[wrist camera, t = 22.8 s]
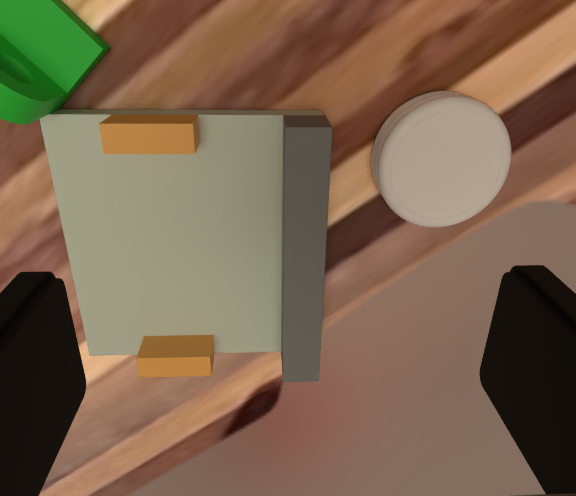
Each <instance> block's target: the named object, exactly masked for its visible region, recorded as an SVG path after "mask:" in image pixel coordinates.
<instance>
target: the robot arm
mask: <svg viewBox="0 0 576 496" xmlns="http://www.w3.org/2000/svg"><path fill="white" fill-rule="evenodd" d="M480 381H481V384H482V386H483V388H484V390H485V392H486V393H487V395H488V397H489V398H490V400H491V402H492V404H493V405H494V407H495V408H496V410H497V412H498V414H499V415H500V417H501V419H502V420H503V422H504V424H505V425H506V427H507V429H508V431H509V432H510V434H511V436H512V437H513V439H514V441H515V442H516V444H517V446H518V448H519V449H520V451H521V453H522V454H523V456H524V458H525V459H526V461H527V463H528V464H529V466H530V468H531V470H532V471H533V473H534V475H535V476H536V478H537V480H538V481H539V483H540V485H541V486H542V488H543V490H544V491H545V493H546V494H542V495H511V496H576V294H575V293H574V292H573V291H572V290H571V289H570V288H569V287H567V286H566V285H565V284H564V283H563V282H562V281H561V280H560V279H559V278H557V277H556V276H555V275H554V274H553V273H552V272H551V271H550V270H548V269H547V268H546V267H545V266H543V265H528V266H514V267H512V269H511V270H510V272H506V273H505V274H504V275H503V277H502V280H501V284H500V288H499V293H498V296H497V301H496V305H495V309H494V313H493V317H492V321H491V325H490V330H489V334H488V338H487V342H486V346H485V350H484V354H483V359H482V363H481V367H480ZM85 390H86V378H85V373H84V369H83V364H82V360H81V355H80V351H79V347H78V342H77V338H76V333H75V329H74V324H73V320H72V315H71V311H70V306H69V302H68V297H67V293H66V288H65V284H64V282H63V280H62V279H60V278H55V276H54V274H53V273H52V272H20V273H19V274H17V276H16V277H15V278H14V279H13V280H12V281H11V282H10V283H9V284H8V285H7V286H6V287H5V289H4V290H3V291H2V292H1V293H0V496H39V494H40V491H41V489H42V487H43V485H44V483H45V480H46V478H47V476H48V474H49V472H50V470H51V467H52V465H53V463H54V461H55V459H56V456H57V454H58V452H59V450H60V448H61V446H62V443H63V441H64V439H65V437H66V435H67V433H68V430H69V428H70V426H71V424H72V422H73V419H74V417H75V415H76V413H77V411H78V409H79V406H80V404H81V402H82V400H83V398H84V395H85Z"/></svg>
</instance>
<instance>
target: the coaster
mask: <svg viewBox="0 0 576 496" xmlns="http://www.w3.org/2000/svg"><path fill="white" fill-rule="evenodd" d="M510 162H511V144H510V138H509V135H508V132H507V129H506V127H505V125H504V123H503V121H502V120H501V119H500V117H499V116H498V114H497V113H496V112H495V111H494V110H493V109H491V108H490V107H489V106H487V105H486V104H485V103H483V102H481V101H479V100H476V99H473V98H471V97H469V96H466V95H464V94H461V93H457V92H452V91H436V92H430V93H426V94H423V95H420V96H417V97H415V98H413V99H411V100H409V101H407V102H406V103H404V104H403V105H401V106H400V107H399V108H397V109H396V110H395V111H394V112H393V113H392V114H391V115H390V116H389V117H388V118H387V120H386V121H385V122H384V124H383V125H382V127H381V128H380V130H379V132H378V134H377V137H376V139H375V142H374V145H373V149H372V156H371V169H372V175H373V179H374V182H375V184H376V187H377V189H378V191H379V192H380V194H381V195H382V197H383V198H384V200H385V201H386V203H387V204H388V206H389V207H390V208H391V209H392V210H393V211H394V212H395V213H396V214H397V215H398V216H400V217H401V218H403V219H405V220H406V221H408V222H411V223H413V224H416V225H420V226H424V227H445V226H450V225H454V224H457V223H460V222H463V221H465V220H467V219H469V218H471V217H472V216H474V215H476V214H477V213H479V212H480V211H481V210H483V209H484V208H485V207H486V206H487V205H488V204H489V203H490V202H491V201H492V200H493V199H494V198H495V196H496V195H497V194H498V192H499V191H500V189H501V187H502V186H503V184H504V182H505V179H506V177H507V174H508V171H509V167H510Z"/></svg>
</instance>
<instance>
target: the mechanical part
mask: <svg viewBox="0 0 576 496" xmlns="http://www.w3.org/2000/svg"><path fill="white" fill-rule="evenodd" d="M110 48H111V47H110V46H109V45H107V44H106V43H105V42H104V41H103V40H102V39H101V38H100V37H99V36H98V35H97V34H96V33H95V32H94V31H93V30H92V29H91V28H90V27H89V26H88V25H87V24H85V23H84V22H83V21H82V20H81V19H80V18H79V17H78V16H77V15H76V14H75V13H74V12H73V11H72V10H71V9H70V8H69V7H68V6H67V5H66V4H65V3H63V2H62V1H61V0H0V118H1V119H3V120H6V121H9V122H12V123H17V124H29V123H31V122H34V121H36V120H38V119H40V118H42V117H44V116H46V115H48V114H50V113H52V112H54V111H56V110H59V109H60V108H61V107H62V106H63V104H64V103H65V102H66V101H67V100H68V98H69V97H70V96H71V95H72V94H73V92H74V91H75V90H76V89H77V88H78V86H79V85H80V84H81V83H82V82H83V80H84V79H85V78H86V77H87V76H88V74H89V73H90V72H91V71H92V70H93V68H94V67H95V66H96V65H97V64H98V62H99V61H100V60H101V59H102V58H103V56H104V55H105V54H106V53H107V52H108V50H109V49H110Z"/></svg>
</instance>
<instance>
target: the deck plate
mask: <svg viewBox="0 0 576 496" xmlns="http://www.w3.org/2000/svg"><path fill="white" fill-rule="evenodd" d="M40 123H41V128H42V133H43V138H44V142H45V147H46V152H47V156H48V161H49V166H50V171H51V175H52V180H53V185H54V189H55V194H56V199H57V204H58V208H59V213H60V218H61V222H62V227H63V232H64V237H65V241H66V246H67V251H68V255H69V260H70V265H71V270H72V274H73V279H74V284H75V288H76V293H77V298H78V303H79V307H80V312H81V317H82V321H83V326H84V331H85V336H86V340H87V345H88V350H89V354H90V356H97V355H137V358H136V360H137V366H138V373H139V377H175V376H211V375H212V368H213V360H214V353H235V352H281V358H282V374H283V382H302V381H319V370H320V350H321V332H322V313H323V295H324V276H325V257H326V239H327V220H328V201H329V182H330V164H331V145H332V126H331V124H330V123H329V121H328V119H327V118H326V116H325V115H324V113H323V111H322V110H146V109H59V110H56V111H54V112H52V113H50V114H48V115H46V116H44V117H42V118H40Z"/></svg>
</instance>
